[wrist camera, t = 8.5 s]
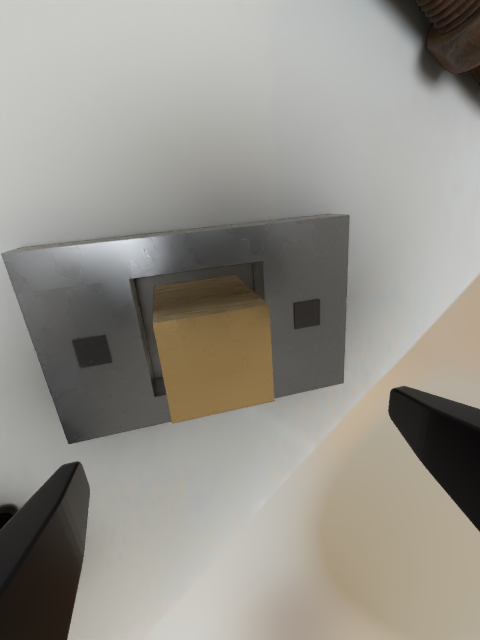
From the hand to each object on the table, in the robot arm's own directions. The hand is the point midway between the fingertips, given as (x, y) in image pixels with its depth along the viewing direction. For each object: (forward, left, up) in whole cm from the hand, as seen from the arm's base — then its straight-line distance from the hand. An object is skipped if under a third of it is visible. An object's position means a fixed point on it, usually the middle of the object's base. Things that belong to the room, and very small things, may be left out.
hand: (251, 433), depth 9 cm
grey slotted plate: (0, 0, -10) cm, 10 cm away
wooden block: (0, 0, -10) cm, 10 cm away
